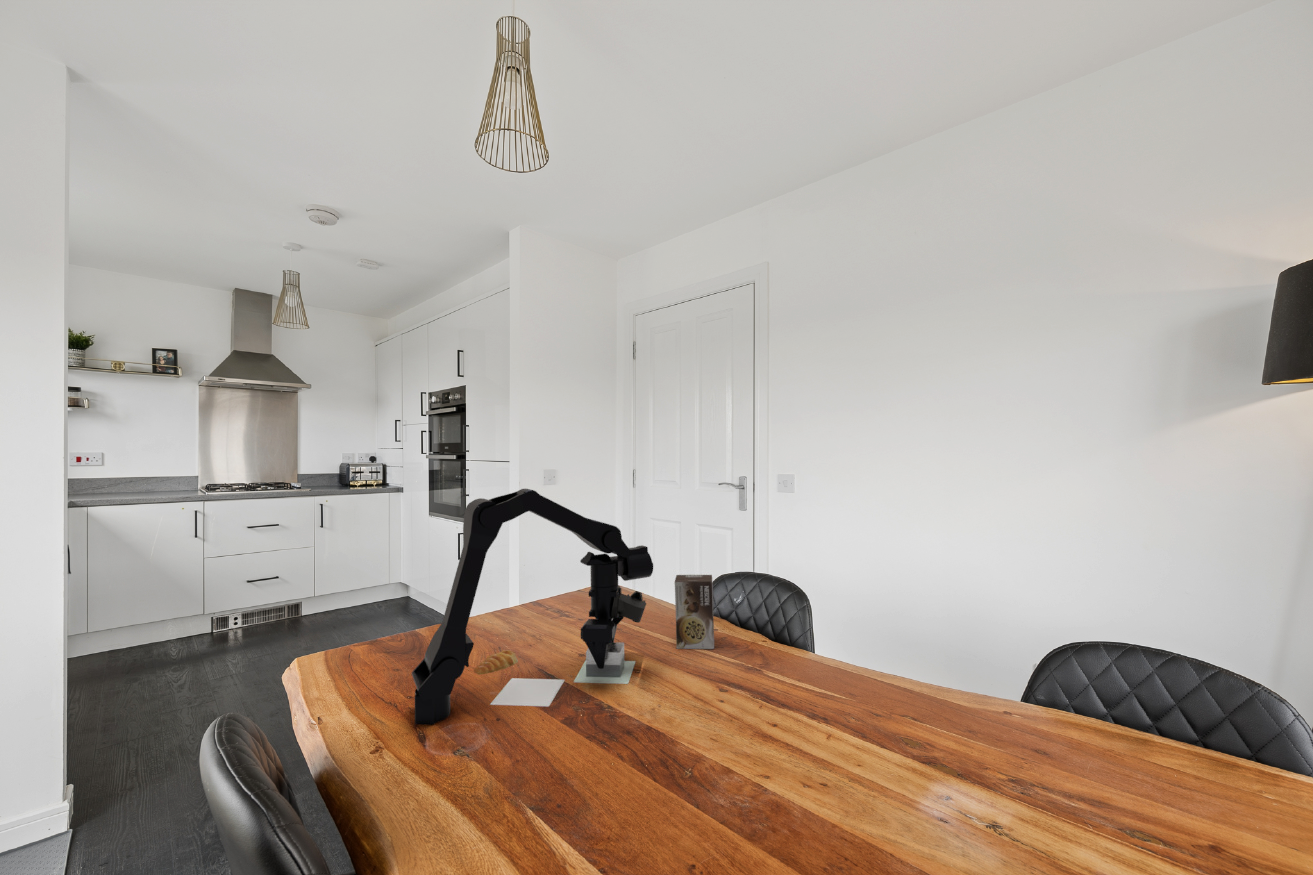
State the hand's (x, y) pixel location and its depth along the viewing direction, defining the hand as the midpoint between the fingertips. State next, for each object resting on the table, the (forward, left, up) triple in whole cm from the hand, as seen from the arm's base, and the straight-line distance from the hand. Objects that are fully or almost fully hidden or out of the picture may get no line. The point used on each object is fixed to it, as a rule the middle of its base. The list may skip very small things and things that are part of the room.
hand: (605, 659), depth 113 cm
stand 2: (0, 0, -4) cm, 4 cm away
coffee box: (+20, -18, -4) cm, 27 cm away
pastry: (+2, +24, -4) cm, 25 cm away
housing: (0, 0, -2) cm, 2 cm away
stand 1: (-10, +13, -4) cm, 17 cm away
